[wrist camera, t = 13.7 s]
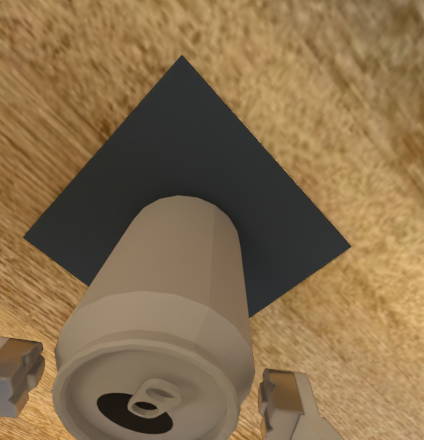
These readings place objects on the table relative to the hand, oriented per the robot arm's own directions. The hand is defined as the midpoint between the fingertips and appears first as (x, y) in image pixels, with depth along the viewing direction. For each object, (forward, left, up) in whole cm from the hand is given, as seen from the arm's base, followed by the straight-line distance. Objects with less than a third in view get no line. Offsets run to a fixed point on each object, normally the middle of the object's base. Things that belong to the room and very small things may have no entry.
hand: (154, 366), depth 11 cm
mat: (0, 0, -11) cm, 11 cm away
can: (0, 0, -11) cm, 11 cm away
